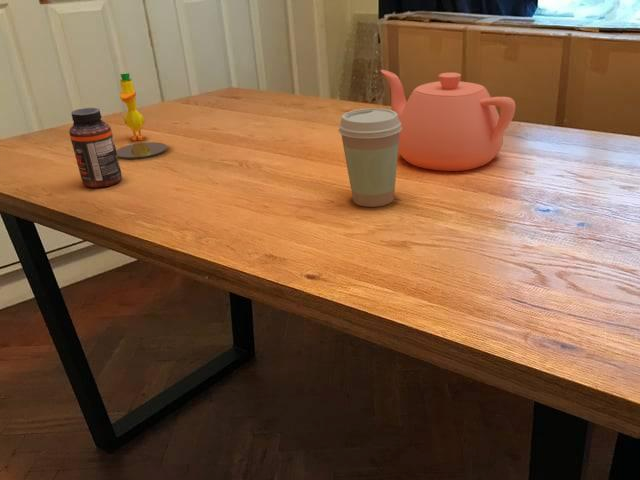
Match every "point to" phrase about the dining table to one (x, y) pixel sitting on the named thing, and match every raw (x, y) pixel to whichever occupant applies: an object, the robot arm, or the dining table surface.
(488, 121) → the teapot
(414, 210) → the dining table surface
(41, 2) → the robot arm
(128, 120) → the toy figure
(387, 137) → the coffee cup
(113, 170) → the supplement bottle
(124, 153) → the coaster
